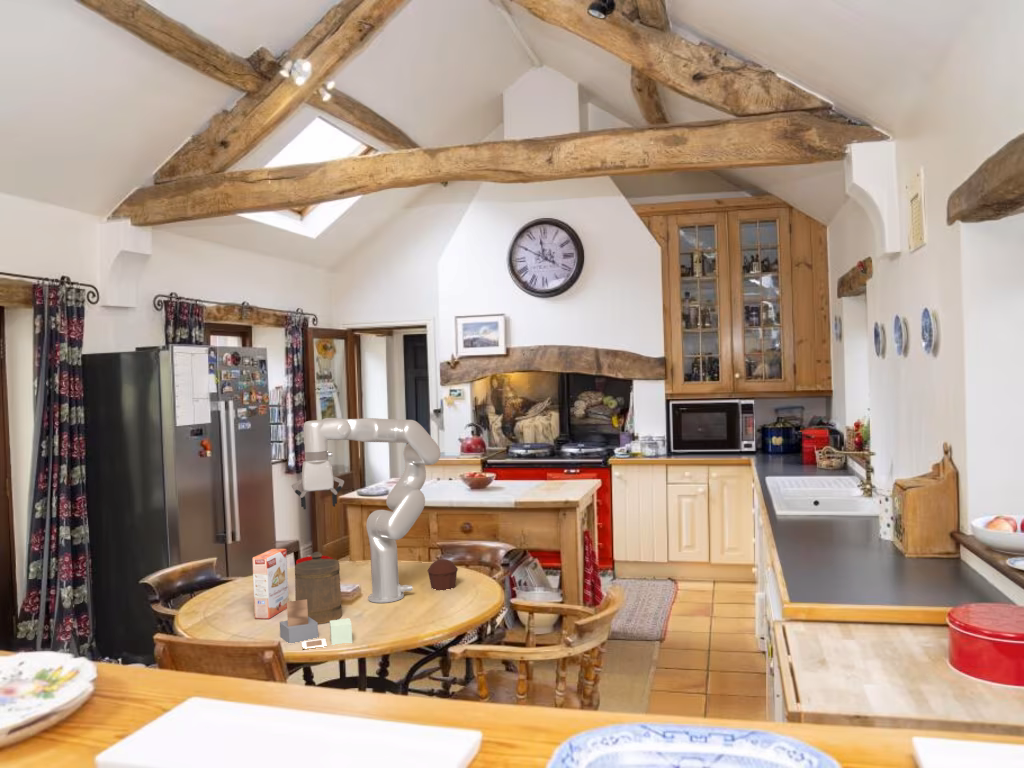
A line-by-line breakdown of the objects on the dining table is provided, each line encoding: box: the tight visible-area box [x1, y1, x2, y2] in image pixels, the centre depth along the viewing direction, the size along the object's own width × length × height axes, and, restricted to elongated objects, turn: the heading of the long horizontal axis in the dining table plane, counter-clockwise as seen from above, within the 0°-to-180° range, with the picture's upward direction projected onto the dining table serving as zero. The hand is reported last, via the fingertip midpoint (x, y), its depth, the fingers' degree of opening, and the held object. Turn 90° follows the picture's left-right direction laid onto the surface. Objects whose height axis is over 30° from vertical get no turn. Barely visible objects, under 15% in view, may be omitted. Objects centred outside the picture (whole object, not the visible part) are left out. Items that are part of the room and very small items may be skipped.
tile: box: [301, 637, 328, 649], centre depth 236 cm, size 7×7×1 cm
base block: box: [279, 616, 319, 644], centre depth 244 cm, size 9×9×5 cm
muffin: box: [427, 558, 459, 591], centre depth 294 cm, size 12×11×10 cm
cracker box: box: [251, 548, 289, 620], centre depth 271 cm, size 14×6×21 cm, turn 168°
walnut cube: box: [286, 599, 308, 627], centre depth 244 cm, size 6×6×6 cm
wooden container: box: [294, 551, 343, 625], centre depth 263 cm, size 15×15×22 cm
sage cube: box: [329, 617, 353, 646], centre depth 238 cm, size 6×6×6 cm
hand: (319, 507), depth 266 cm, fingers open, 9 cm apart
